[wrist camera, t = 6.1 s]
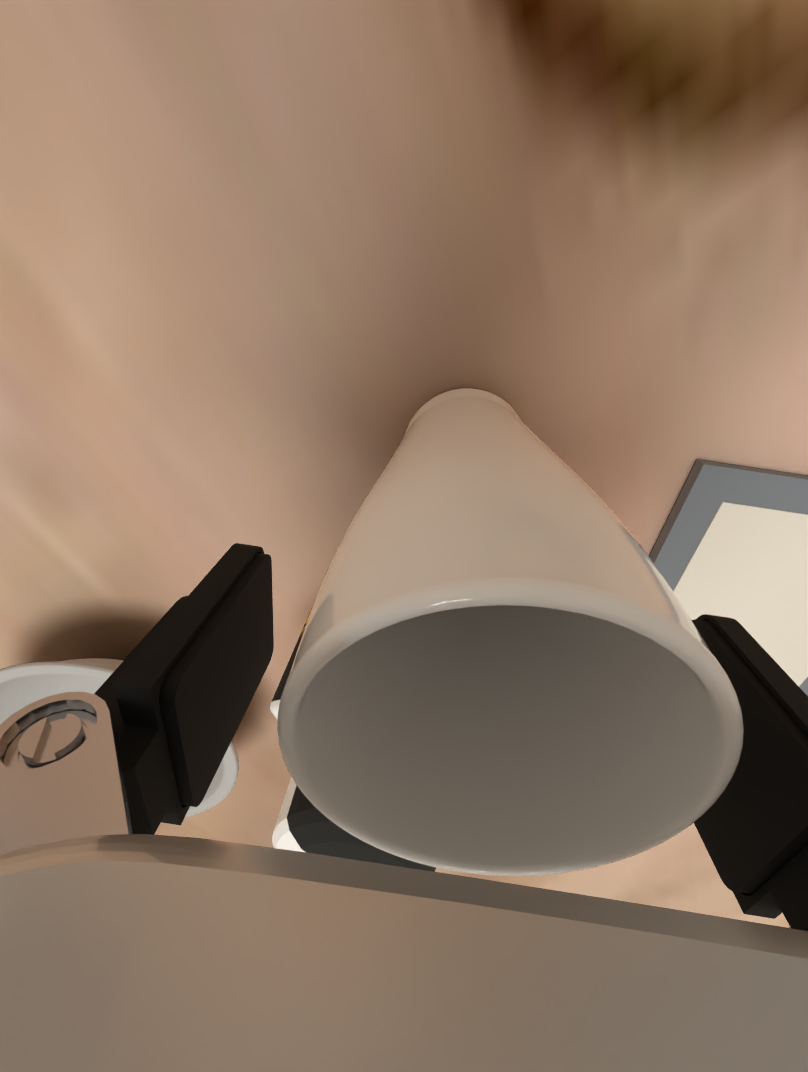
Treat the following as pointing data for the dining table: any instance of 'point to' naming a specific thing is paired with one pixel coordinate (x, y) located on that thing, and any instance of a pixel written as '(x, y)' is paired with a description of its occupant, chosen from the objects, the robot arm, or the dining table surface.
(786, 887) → the robot arm
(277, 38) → the dining table surface
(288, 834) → the medicine bottle
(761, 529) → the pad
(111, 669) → the dish
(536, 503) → the drinking glass
